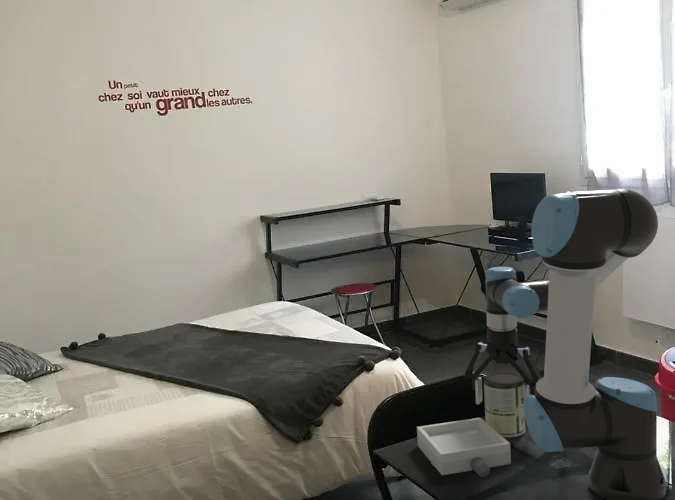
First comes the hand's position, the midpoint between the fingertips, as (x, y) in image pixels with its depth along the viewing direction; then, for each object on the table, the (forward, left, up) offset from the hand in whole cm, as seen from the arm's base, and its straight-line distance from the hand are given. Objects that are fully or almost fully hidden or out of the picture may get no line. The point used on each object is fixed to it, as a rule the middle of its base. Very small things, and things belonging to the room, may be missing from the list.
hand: (503, 406), depth 181 cm
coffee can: (0, 0, -7) cm, 7 cm away
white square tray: (-12, +16, -6) cm, 21 cm away
